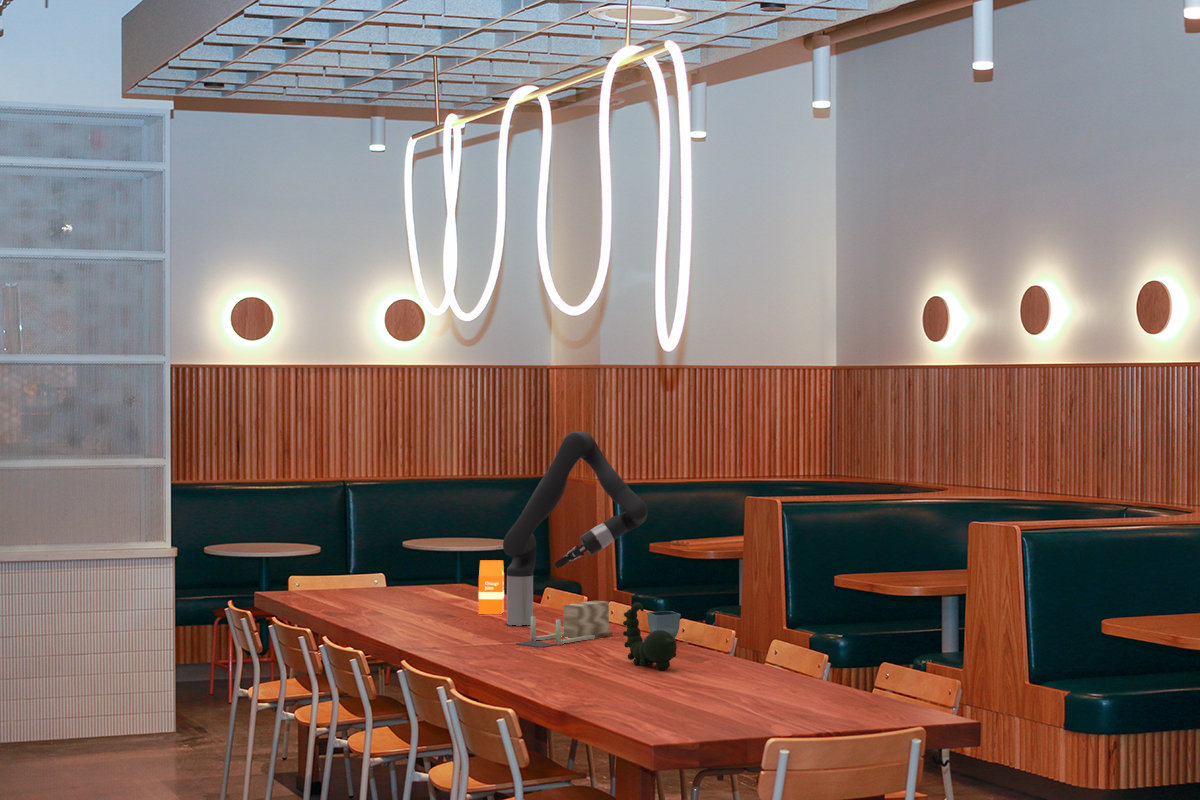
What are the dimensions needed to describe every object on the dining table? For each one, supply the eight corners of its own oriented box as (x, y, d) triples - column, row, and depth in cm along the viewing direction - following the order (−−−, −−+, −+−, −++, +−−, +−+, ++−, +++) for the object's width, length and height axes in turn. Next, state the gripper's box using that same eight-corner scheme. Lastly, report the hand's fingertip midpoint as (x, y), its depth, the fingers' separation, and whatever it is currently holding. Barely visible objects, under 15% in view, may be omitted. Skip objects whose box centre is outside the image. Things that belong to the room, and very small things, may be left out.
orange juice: (502, 615, 506) (502, 561, 507) (478, 615, 507) (478, 561, 507) (504, 612, 514) (504, 559, 515) (480, 612, 514) (480, 559, 515)
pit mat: (530, 641, 443) (530, 640, 443) (556, 645, 436) (556, 644, 436) (515, 644, 437) (515, 643, 437) (541, 647, 430) (541, 646, 430)
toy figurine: (616, 667, 404) (661, 673, 382) (614, 603, 406) (658, 604, 384) (644, 665, 409) (689, 670, 387) (641, 601, 411) (686, 602, 389)
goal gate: (566, 635, 457) (566, 611, 457) (594, 639, 449) (594, 614, 449) (529, 641, 443) (529, 616, 444) (558, 645, 435) (558, 620, 435)
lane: (583, 632, 464) (583, 628, 464) (612, 636, 456) (612, 632, 456) (566, 635, 457) (566, 631, 457) (594, 639, 449) (594, 635, 449)
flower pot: (646, 639, 449) (646, 611, 449) (671, 638, 452) (671, 610, 452) (655, 643, 441) (655, 615, 441) (681, 642, 443) (681, 614, 443)
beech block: (595, 633, 463) (595, 600, 463) (608, 634, 459) (608, 601, 460) (563, 638, 451) (563, 605, 451) (577, 640, 447) (577, 606, 447)
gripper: (588, 531, 468) (548, 557, 465) (593, 528, 454) (552, 554, 451) (600, 549, 468) (560, 575, 464) (605, 547, 454) (565, 574, 451)
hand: (556, 565), depth 458 cm, fingers open, 8 cm apart
